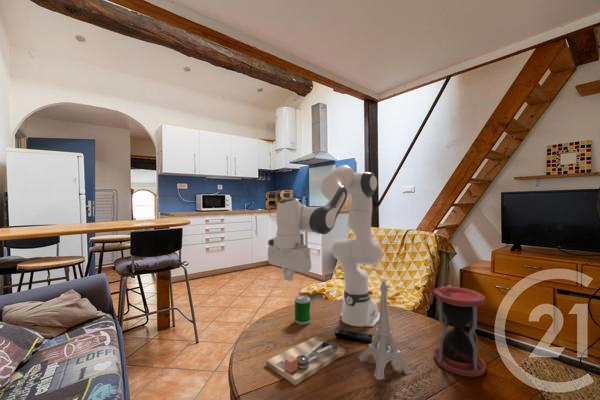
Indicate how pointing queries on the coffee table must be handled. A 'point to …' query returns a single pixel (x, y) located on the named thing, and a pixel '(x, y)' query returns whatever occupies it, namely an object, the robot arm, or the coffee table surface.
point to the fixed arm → (319, 355)
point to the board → (301, 349)
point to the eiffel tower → (384, 342)
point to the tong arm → (312, 352)
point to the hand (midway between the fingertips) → (288, 280)
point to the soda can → (302, 309)
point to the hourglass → (459, 331)
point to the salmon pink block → (291, 364)
